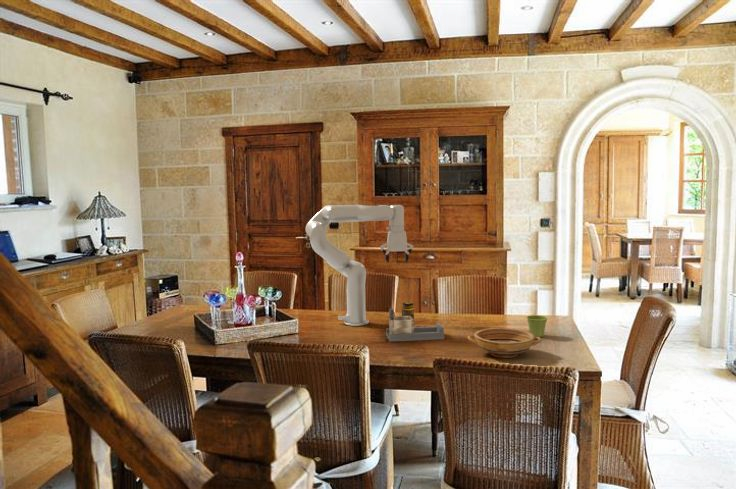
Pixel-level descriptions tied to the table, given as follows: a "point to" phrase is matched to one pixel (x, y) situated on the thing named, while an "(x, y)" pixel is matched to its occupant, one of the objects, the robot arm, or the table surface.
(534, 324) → the plant pot
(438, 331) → the bay
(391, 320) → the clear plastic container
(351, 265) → the robot arm
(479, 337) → the ceramic bowl
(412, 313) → the condiment
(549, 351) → the table surface
